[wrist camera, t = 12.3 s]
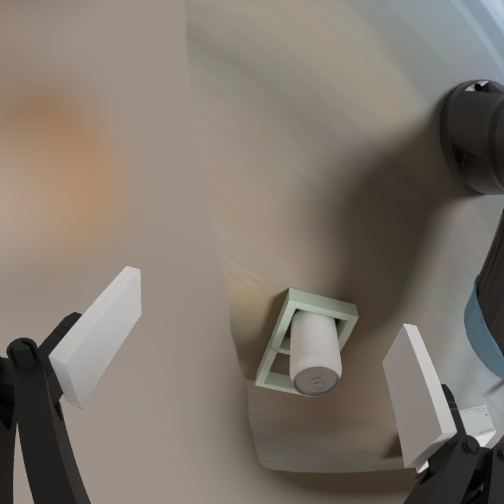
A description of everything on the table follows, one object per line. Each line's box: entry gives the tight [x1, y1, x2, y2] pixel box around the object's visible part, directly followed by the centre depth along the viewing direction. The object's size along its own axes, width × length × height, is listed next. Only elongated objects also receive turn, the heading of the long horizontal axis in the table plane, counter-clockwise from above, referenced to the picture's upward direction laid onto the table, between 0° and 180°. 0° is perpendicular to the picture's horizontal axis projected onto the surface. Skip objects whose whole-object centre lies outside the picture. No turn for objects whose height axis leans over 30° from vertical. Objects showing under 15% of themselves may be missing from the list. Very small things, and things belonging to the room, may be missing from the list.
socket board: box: [255, 288, 359, 395], centre depth 45 cm, size 10×18×3 cm, turn 166°
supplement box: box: [416, 404, 496, 473], centre depth 51 cm, size 17×13×9 cm
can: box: [290, 309, 342, 397], centre depth 40 cm, size 6×6×12 cm
